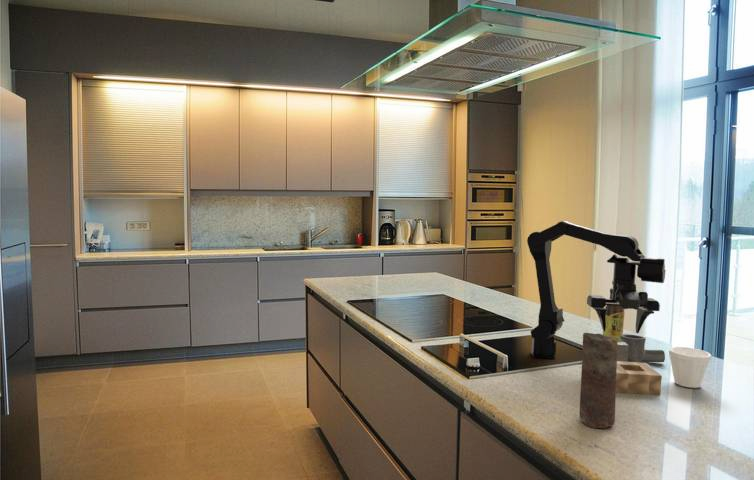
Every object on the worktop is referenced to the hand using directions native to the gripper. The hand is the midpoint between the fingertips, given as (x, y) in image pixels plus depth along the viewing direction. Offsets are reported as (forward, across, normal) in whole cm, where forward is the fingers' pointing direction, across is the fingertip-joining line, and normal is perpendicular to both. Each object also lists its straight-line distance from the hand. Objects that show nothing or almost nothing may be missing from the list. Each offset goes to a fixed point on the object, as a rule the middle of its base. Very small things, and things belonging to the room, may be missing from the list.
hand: (620, 332), depth 158 cm
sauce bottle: (+12, +6, +27) cm, 30 cm away
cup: (+12, +15, -10) cm, 21 cm away
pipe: (+12, +10, +10) cm, 18 cm away
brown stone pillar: (+12, -17, -41) cm, 46 cm away
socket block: (+11, -1, -14) cm, 18 cm away
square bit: (+11, 0, 0) cm, 11 cm away
